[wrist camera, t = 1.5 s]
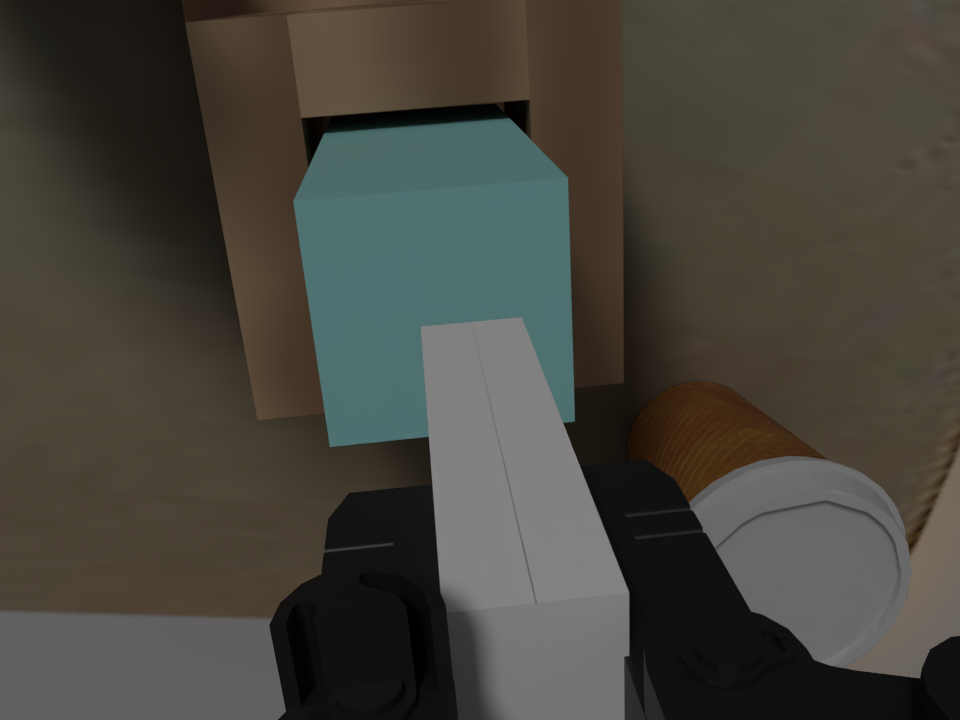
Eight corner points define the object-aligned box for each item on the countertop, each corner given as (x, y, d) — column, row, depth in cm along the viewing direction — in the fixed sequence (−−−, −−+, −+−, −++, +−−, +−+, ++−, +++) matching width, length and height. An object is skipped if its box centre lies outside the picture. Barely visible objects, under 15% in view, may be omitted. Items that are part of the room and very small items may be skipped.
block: (352, 274, 29) (330, 446, 18) (331, 116, 27) (293, 201, 16) (504, 260, 29) (574, 421, 18) (495, 103, 27) (567, 177, 16)
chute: (249, 346, 39) (188, 502, 27) (177, -55, 33) (56, -84, 21) (608, 311, 40) (702, 447, 28) (603, -84, 34) (721, -127, 22)
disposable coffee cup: (821, 382, 42) (974, 518, 31) (733, 544, 46) (844, 719, 35) (643, 322, 40) (739, 445, 29) (563, 496, 44) (624, 667, 32)
